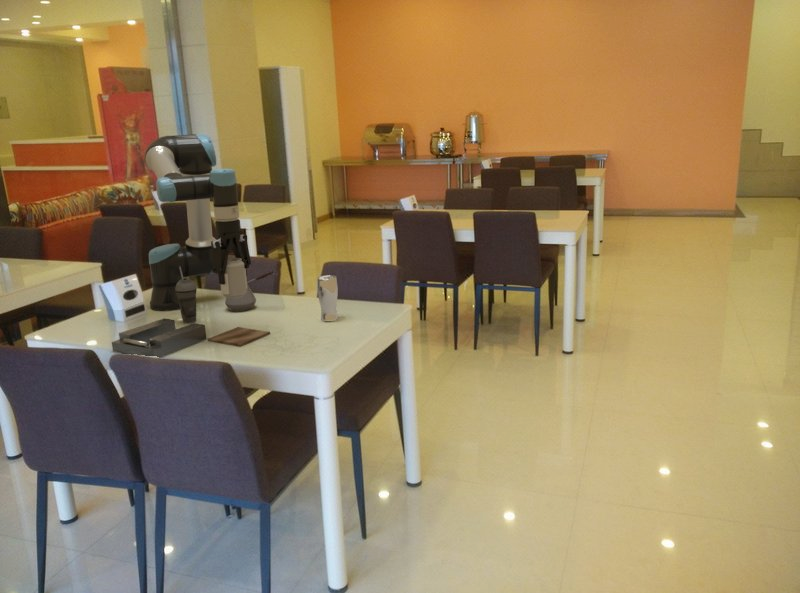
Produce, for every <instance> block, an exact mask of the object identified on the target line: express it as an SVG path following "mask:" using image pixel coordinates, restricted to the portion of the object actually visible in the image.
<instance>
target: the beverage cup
mask: <svg viewBox="0 0 800 593" xmlns="http://www.w3.org/2000/svg"><path fill="white" fill-rule="evenodd" d="M179 268H180V273H181V277H182V279H181V280H180V281H178V283H177V284H176V288H175V289H176V290H175V292H176V295H177V297H178V302H179V306H180V309H179V310H180V315H181V319H182V323H183V324H193V323H197V290H198V288H197V286H196V283H195V282H194V281H193V280H192V279H189V278H188V277H184V279H183V275H182V271H181V266H180V267H179Z"/></svg>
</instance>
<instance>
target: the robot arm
mask: <svg viewBox="0 0 800 593" xmlns="http://www.w3.org/2000/svg"><path fill="white" fill-rule="evenodd" d="M144 161H145V164H146V165H147V167H148V168H149V170H151V171H152V172H153V173H154V174H155V177H156V181H155V188H156V194H157V199H158V200H159V202H161V203H175V202H184V201H185V203H186V213H187V214H186V215H187V227H188V238H187V239H186V240H185V246H181V245H180V243H167V244H164V245H160V246H157V247H153V248H152V249H151V250H149V252H148V264H149V269H150V278H151V279H150V280H151V284H152V290H151V296H150V300H149V309H150V310H153V311H159V312H162V311H163V312H164V311H174V310H180V306H179V302H178V297H177V295H176V292H175V290H176V289H175V288H176V284H177V283H178V281H180V280H181V279H182V277H181V273H180V268H179V267H180V266H181V271H182V275H183V279H185V278H188V277H197V276H205V275H207V276H209V275H212V274H217V275H218V276H217V277H218V284H219V285H220V292H221V295H223V294H227V295H228V294H229V284H228V274H225V271H226V266H227V260H228V258H229V254H230V253H231V251H232V252H233V256H234V258H241V259H242V260H241V261H242V262H243V263H244V268H245V278H246V289H247V282H248V281H247V278H248V270H247V269H249V268H250V266H251V264H252V261H251V256H250V250H249V246H248V235H246V234H240V232H241V230H242V229H241V227H242V226H241V220H240V219H239V218H240V211H239V210H240V208H239V198H238V197H239V196H238V188H237V186H238V185H237V182H238V179H237V177H236V171H235V169H233V168H218V169H217V168H216V169H215V168H214V169H213V167H216V166H217V155H216V151H215V147H214V145H213V142H212V139H211V137H210V136H209V135H207V134H198V133H194V134H193V133H191V134H181V135H180V134H178V135H164V136H160V137H158V138H156V139H154V140H153V141H152V142H151V143H149V144H148V146H147V148H146V149H145V152H144ZM210 199H212V201H213V205H212V206H213V214H214V215H213V216H214V219H215V220H216V221H215V222H214V223H215V232H216V233H217V234H218V237H217V239H216V238H215V237H214V236H213V229H212V210H211V200H210ZM221 269H222V270H221Z"/></svg>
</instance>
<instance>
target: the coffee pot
mask: <svg viewBox="0 0 800 593" xmlns="http://www.w3.org/2000/svg"><path fill="white" fill-rule="evenodd" d="M276 273H278V271H277V270H276V269H274V270H272V271H268V272H266V273H263V274H261V275H259V276H257V277H255V278H253V279H250V280H248V281H247V293H246V294H245V295H244V296H243V297H239V298H227V297H225V301H224V304H225V306H226V307H227V308H228V309H229V310H230V311H231V312H245V311H249V310H251V309H253V307H254V306H255V305H256V302H257V298H256V296H255V294H254V293H253V291H252V289H251V288H250V285H249V284H252V283H253V282H256V281H259V280H261V279H264V278H266V277H268V276H271V275H272V274H273V275H275V276H278V274H276Z"/></svg>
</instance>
